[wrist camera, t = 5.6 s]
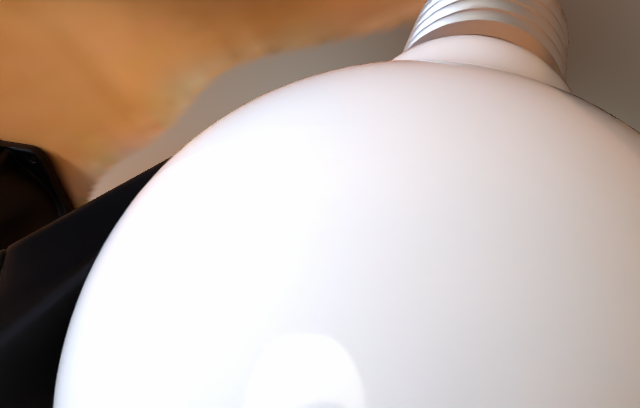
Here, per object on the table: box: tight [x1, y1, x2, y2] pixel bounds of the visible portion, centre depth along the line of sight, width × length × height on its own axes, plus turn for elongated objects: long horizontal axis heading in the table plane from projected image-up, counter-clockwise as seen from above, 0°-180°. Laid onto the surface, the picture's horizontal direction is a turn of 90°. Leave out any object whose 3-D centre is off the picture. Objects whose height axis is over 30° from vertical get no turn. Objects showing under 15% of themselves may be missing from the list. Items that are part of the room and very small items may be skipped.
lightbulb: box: [53, 0, 640, 408], centre depth 7 cm, size 6×6×11 cm
